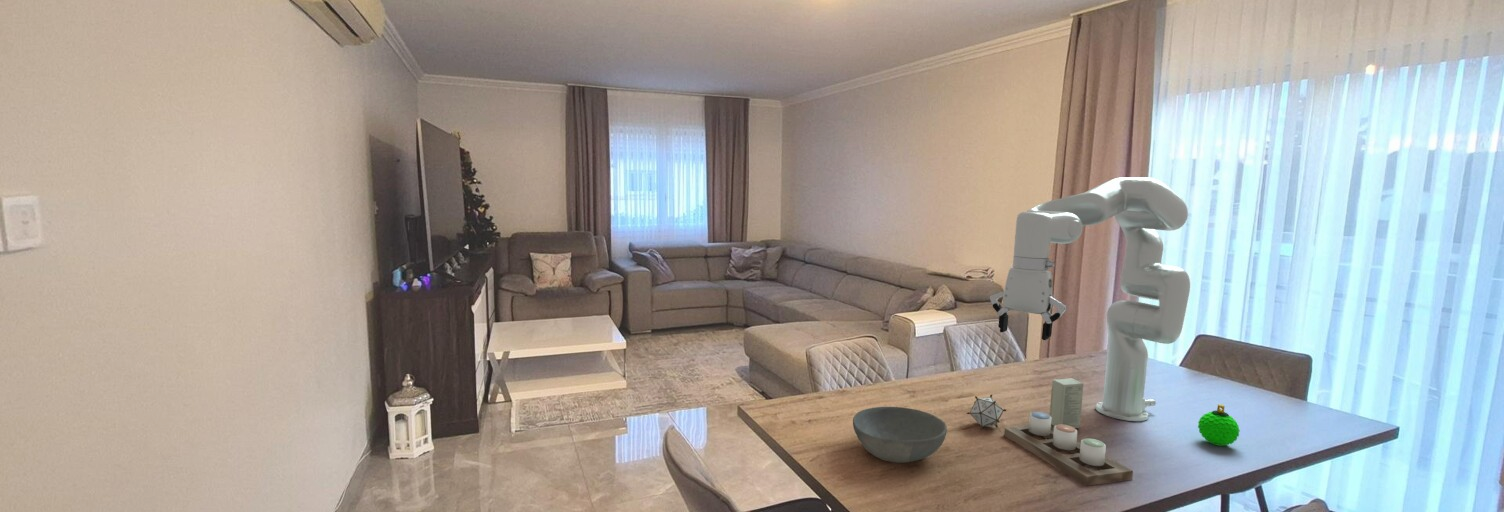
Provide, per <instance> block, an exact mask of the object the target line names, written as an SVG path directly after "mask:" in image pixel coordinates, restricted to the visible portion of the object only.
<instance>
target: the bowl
mask: <svg viewBox="0 0 1504 512" xmlns="http://www.w3.org/2000/svg"><path fill="white" fill-rule="evenodd" d="M852 427H853V429H854V430H853V431H854V433H855V435H856V437H857V439H858V441H859V442H860V444H861V445H862V447H864V449H865V450H866V451H867V452H869V454H871V455H872V456H874V457H876V458H877V459H880V460H882V461H886V462H890V463H899V464H902V463H912V462H913V463H914V462H917V461H920V460H923V459H926V458H928V457H929V456H931V455H933V454H935V452H937V450H938V449H939V448H940V447H941V446H942V444H943V443H944V441H945V439H946V436H947V431H948V427H947V425H946V423H945V421H943V420H942V419H941V418H940V417H937V416H936V415H934V414H931V413H929V412H927V411H923V410H919V409H916V408H915V409H914V408H910V407H902V406H876V407H870V408H865V409H862V410H859V411H858V412H857V413H856V414H855V415H854V416H853V418H852Z"/></svg>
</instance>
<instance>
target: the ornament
mask: <svg viewBox="0 0 1504 512" xmlns="http://www.w3.org/2000/svg"><path fill="white" fill-rule="evenodd" d="M1197 428H1198V431H1199V433H1200V435H1201V437H1202V438H1203V439H1205V441H1206V442H1209V443H1210V444H1213V446H1214V445H1215V446H1219V447H1220V446H1221V447H1222V446H1226V447H1227V446H1228V445H1232V444H1234V442H1236V441H1237V440H1238V438H1239V436H1240V432H1241V431H1240V426H1239V424H1238V422H1237V421H1236V420H1235V419H1234V417H1232V416H1231V415H1230V414H1229V413H1228V412H1225V405H1224V404H1217V409H1216V410H1213V411H1209V412H1207V413H1205V414H1203V415H1202V416H1201V417H1200V418H1199V420H1198V425H1197Z"/></svg>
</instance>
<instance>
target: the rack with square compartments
mask: <svg viewBox="0 0 1504 512" xmlns="http://www.w3.org/2000/svg"><path fill="white" fill-rule="evenodd" d="M1053 433H1054V427H1052V426H1051V430H1050V435H1048V436H1041V438H1045V439H1039V440H1038V439H1037V438H1034V437H1035V436H1038V435H1036V434H1033V433H1031V432H1029V424H1028V425H1021V426H1019V425H1018V426H1010V427H1004V433H1003V436H1004V437H1006V438H1008V439H1009V440H1011V441H1012V442H1014V443H1016V444H1017V445H1020V447H1022V448H1024V449H1025V450H1027V451H1028V452H1031V453H1032V454H1033V455H1035V456H1037V457H1038V458H1040V459H1042V460H1044V461H1045V462H1047V463H1049V464H1050V465H1052V466H1053V467H1055V468H1057V469H1058V470H1060V471H1061V472H1063V473H1065V474H1066V475H1068V476H1070V477H1071V478H1073V479H1075V480H1076V481H1078V482H1079V483H1081V484H1083V485H1085V486H1086V487H1088V486H1095V485H1102V484H1109V483H1117V482H1124V481H1130V480H1131V481H1132V480H1133V473H1134V470H1133V469H1130V468H1129V467H1127V466H1125V465H1124V464H1121V463H1119V462H1117V461H1116V460H1114V459H1111V458H1110V457H1108V456H1106V455H1105V462H1104V465H1102V466H1095V468H1096V467H1097V468H1098V469H1099V470H1090V469H1088V468H1087V467H1085V466H1086V465H1087V464H1086V463H1084V462H1082V461H1081V460H1080V459H1079V456H1080V446H1081V441H1080V442H1079V441H1078V440H1076V449H1074V450H1066V451H1067V452H1069V453H1068V454H1062V453H1060V452H1059V451H1057V450H1061V449H1060V448H1058V447H1055V446H1054V445H1053ZM1083 465H1085V466H1083Z"/></svg>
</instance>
